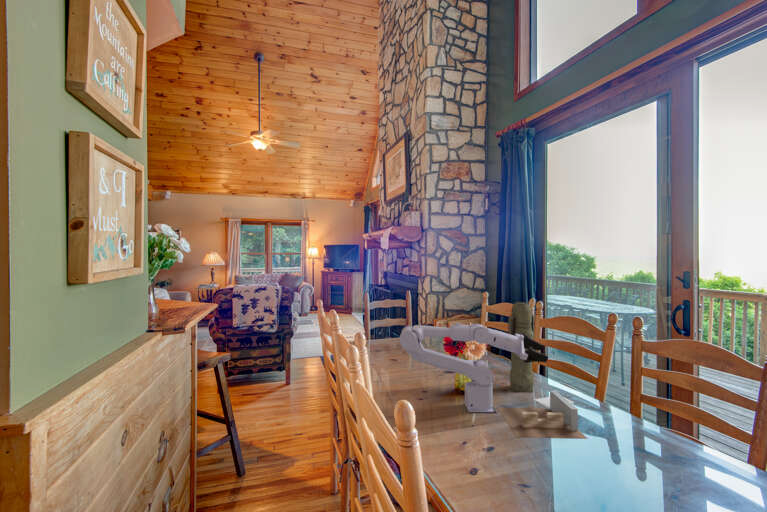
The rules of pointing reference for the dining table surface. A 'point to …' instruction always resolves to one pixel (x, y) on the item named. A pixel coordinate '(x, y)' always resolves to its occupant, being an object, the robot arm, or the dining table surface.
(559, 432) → the base
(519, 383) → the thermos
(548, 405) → the hard drive
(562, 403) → the long gray bar
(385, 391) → the dining table surface
